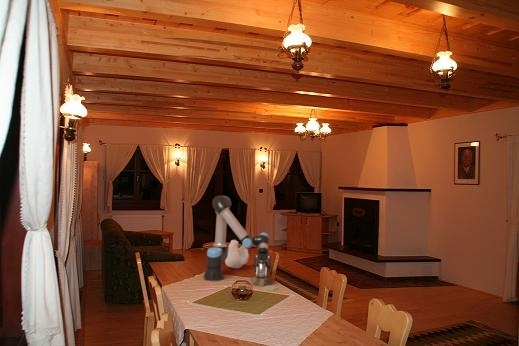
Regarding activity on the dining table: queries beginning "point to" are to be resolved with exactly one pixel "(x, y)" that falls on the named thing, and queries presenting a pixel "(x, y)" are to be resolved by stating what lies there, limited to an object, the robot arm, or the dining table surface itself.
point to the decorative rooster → (236, 255)
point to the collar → (261, 281)
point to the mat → (269, 287)
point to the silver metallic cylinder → (261, 268)
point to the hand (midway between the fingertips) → (261, 275)
